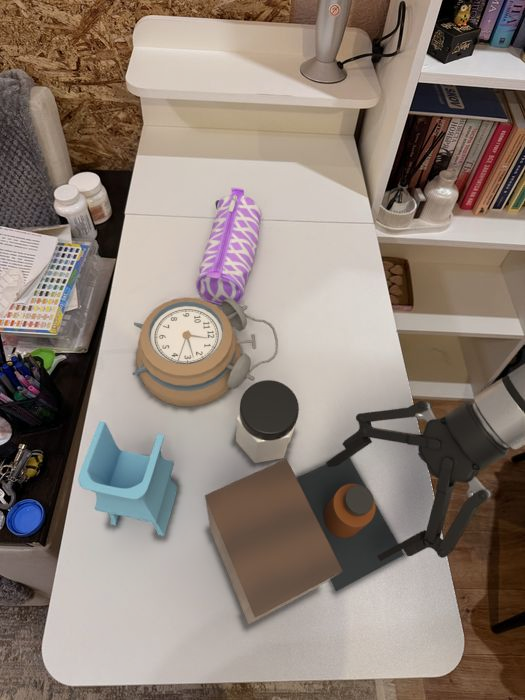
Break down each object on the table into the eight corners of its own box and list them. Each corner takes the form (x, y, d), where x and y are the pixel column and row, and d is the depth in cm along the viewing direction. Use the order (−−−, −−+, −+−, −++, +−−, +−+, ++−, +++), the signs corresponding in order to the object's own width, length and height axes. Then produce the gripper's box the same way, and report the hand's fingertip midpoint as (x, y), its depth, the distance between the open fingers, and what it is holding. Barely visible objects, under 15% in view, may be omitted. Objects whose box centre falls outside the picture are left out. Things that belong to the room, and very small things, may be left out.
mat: (403, 555, 72) (404, 554, 72) (336, 591, 70) (336, 591, 69) (347, 455, 79) (347, 454, 79) (284, 484, 76) (284, 483, 76)
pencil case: (216, 217, 103) (215, 180, 94) (262, 223, 102) (265, 187, 94) (195, 307, 92) (192, 274, 83) (246, 314, 91) (248, 282, 83)
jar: (280, 472, 77) (288, 445, 67) (229, 454, 78) (230, 425, 68) (297, 420, 82) (307, 387, 71) (249, 404, 83) (252, 369, 72)
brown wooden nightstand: (315, 588, 70) (343, 570, 52) (248, 624, 67) (255, 617, 50) (273, 501, 75) (286, 458, 58) (210, 530, 73) (204, 495, 55)
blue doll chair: (179, 481, 76) (165, 433, 59) (164, 536, 72) (144, 502, 55) (128, 470, 76) (98, 420, 59) (110, 524, 72) (73, 487, 55)
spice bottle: (369, 527, 74) (390, 510, 64) (335, 544, 72) (351, 529, 63) (349, 492, 76) (367, 470, 66) (316, 508, 75) (329, 488, 65)
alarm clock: (130, 289, 81) (273, 282, 84) (139, 320, 89) (269, 314, 92) (126, 385, 73) (286, 375, 75) (136, 410, 81) (280, 401, 83)
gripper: (567, 517, 58) (417, 591, 67) (440, 345, 69) (325, 429, 78) (558, 529, 52) (395, 608, 61) (420, 338, 63) (299, 430, 72)
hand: (356, 508), depth 70 cm, fingers open, 13 cm apart
